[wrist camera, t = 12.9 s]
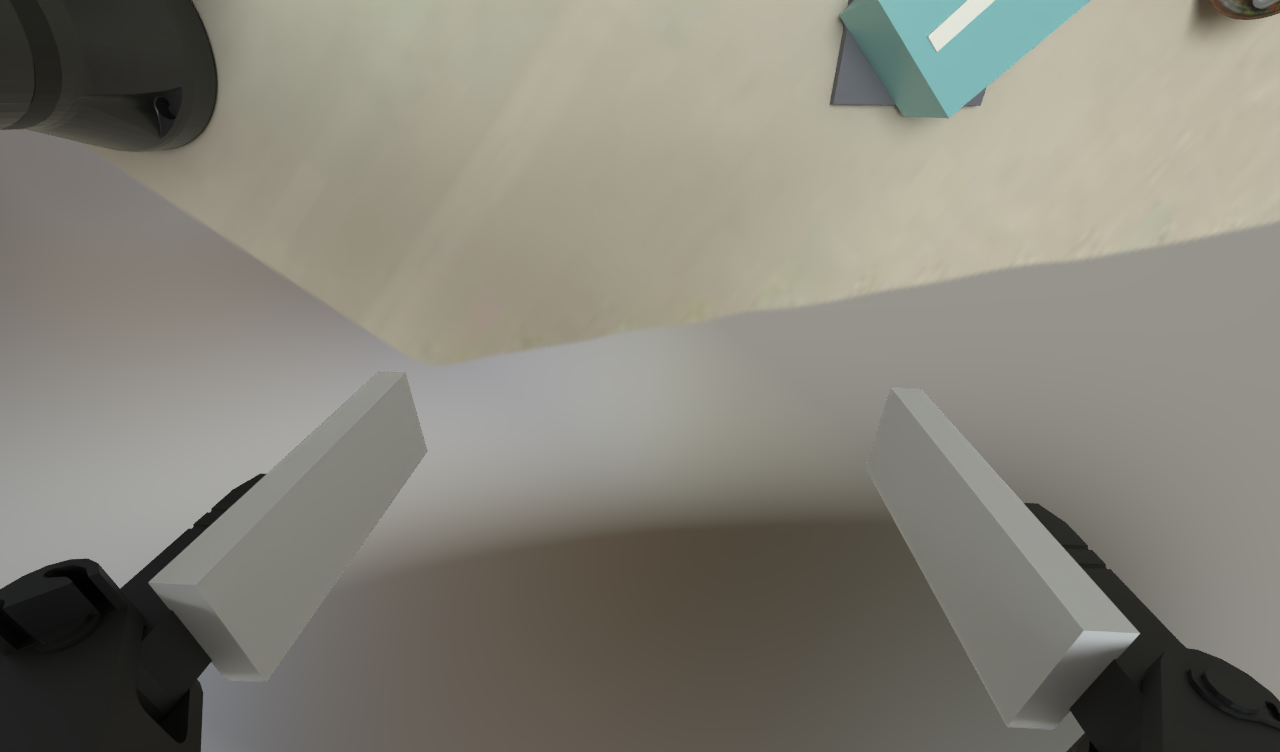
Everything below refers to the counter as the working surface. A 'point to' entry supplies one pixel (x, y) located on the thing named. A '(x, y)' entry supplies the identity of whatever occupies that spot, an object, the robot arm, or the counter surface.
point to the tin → (1247, 8)
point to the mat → (863, 78)
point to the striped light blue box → (948, 45)
